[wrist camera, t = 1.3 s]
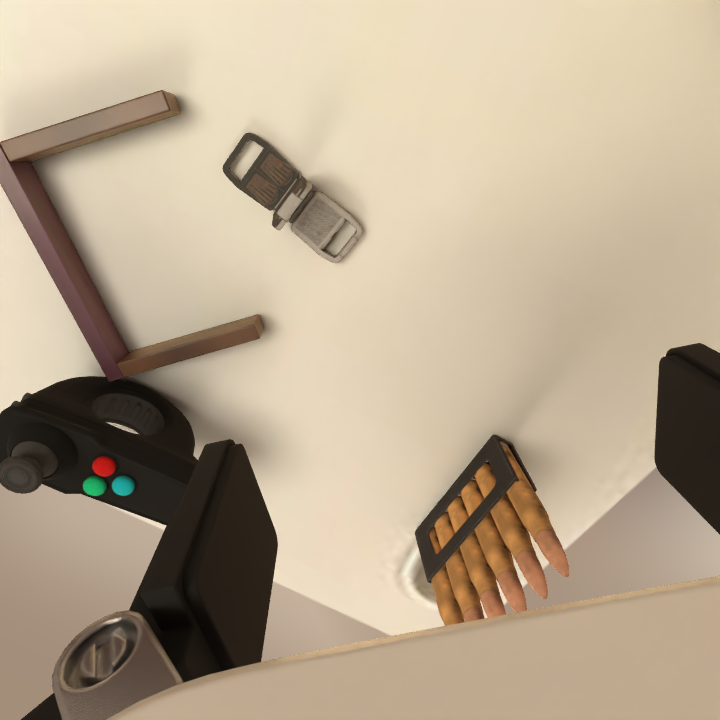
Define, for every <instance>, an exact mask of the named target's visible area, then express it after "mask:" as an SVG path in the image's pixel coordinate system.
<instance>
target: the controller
mask: <svg viewBox="0 0 720 720" xmlns="http://www.w3.org/2000/svg"><path fill="white" fill-rule="evenodd" d="M106 422H111V423H117V424H120V425H123V426H126V427H128V428H131V429H133V430H134V431H136V432H137V433H139V434H140V435H138V434H134V433H130V432H127V431H124V430H122V429H119V428H117V427H114V426H112V425H110V424H108V423H106ZM194 447H195V438H194V434H193V431H192V428H191V425H190V423H189V422H188V420H187V419H186V418H185V416H184V415H183V414H182V412H181V411H180V410H178V409H177V408H176V407H175V406H174V405H173V404H172V403H171V402H170V401H168V400H167V399H165V398H164V397H162V396H161V395H160V394H158V393H156V392H154V391H152V390H150V389H148V388H146V387H144V386H142V385H139V384H136V383H133V382H130V381H126V380H121V379H117V380H114V381H110V382H109V381H108V379H107V377H97V376H89V377H76V378H71V379H67V380H64V381H60V382H57V383H55V384H53V385H51V386H49V387H47V388H44V389H42V390H40V391H38V392H36V393H34V394H30V393H26V394H25V395H24V396H23V398H22V400H21V402H18V401H14V402H13V403H12V405H11V406H10V407H8V408H6V409H5V410H3V411H2V412H1V414H0V483H1V484H2V485H3V486H4V487H5V488H6V489H8V490H10V491H13V492H15V493H22V494H23V493H30V492H33V491H35V490H36V489H37V488H38V487H39V486H40V485H41V484H44V485H46V486H48V487H51V488H53V489H55V490H58V491H60V492H63V493H65V494H83V495H85V496H88V497H91V498H93V499H96V500H99V501H102V502H104V503H107V504H110V505H112V506H115V507H118V508H121V509H123V510H126V511H129V512H131V513H134V514H137V515H140V516H142V517H145V518H148V519H151V520H153V521H156V522H159V523H161V524H164V525H167V524H168V522H169V519H170V517H171V515H172V514H173V512H174V511H175V510H177V508H178V506H179V503H180V501H181V499H182V496H183V494H184V492H185V490H186V487H187V485H188V483H189V480H190V478H191V476H192V474H193V471H194V469H195V467H196V464H197V462H198V460H197V459H196V458H195V457H194V456H193V454H194Z"/></svg>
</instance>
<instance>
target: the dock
mask: <svg viewBox="0 0 720 720" xmlns="http://www.w3.org/2000/svg"><path fill="white" fill-rule="evenodd" d="M180 113H181V111H180V109H179V106H178V104H177V101H176V98H175V96H174V94H171V93H169V92H166V91H163V90H160V91H157V92H154V93H151V94H148V95H145V96H141V97H138V98H135V99H132V100H129V101H126V102H123V103H120V104H117V105H113V106H110V107H107V108H104V109H101V110H98V111H95V112H92V113H89V114H85V115H82V116H79V117H76V118H73V119H70V120H67V121H64V122H61V123H57V124H54V125H51V126H48V127H45V128H42V129H39V130H36V131H33V132H29V133H26V134H23V135H20V136H17V137H14V138H11V139H8V140H5V141H1V142H0V184H1V186H2V187H3V189H4V191H5V193H6V195H7V197H8V198H9V200H10V202H11V204H12V206H13V208H14V209H15V211H16V213H17V215H18V217H19V218H20V220H21V222H22V224H23V226H24V228H25V229H26V231H27V233H28V235H29V237H30V239H31V240H32V242H33V244H34V246H35V248H36V249H37V251H38V253H39V255H40V257H41V259H42V260H43V262H44V264H45V266H46V268H47V270H48V271H49V273H50V275H51V277H52V279H53V280H54V282H55V284H56V286H57V288H58V290H59V291H60V293H61V295H62V297H63V299H64V301H65V302H66V304H67V306H68V308H69V310H70V311H71V313H72V315H73V317H74V319H75V321H76V322H77V324H78V326H79V328H80V330H81V331H82V333H83V335H84V337H85V339H86V341H87V342H88V344H89V346H90V348H91V350H92V352H93V353H94V355H95V357H96V359H97V361H98V362H99V364H100V366H101V368H102V370H103V372H104V373H105V375H106V377H107V379H108V381H109V382H110V381H114V380H117V379H121V378H124V377H127V376H131V375H134V374H138V373H141V372H145V371H148V370H152V369H155V368H159V367H162V366H165V365H169V364H172V363H176V362H179V361H183V360H186V359H190V358H193V357H197V356H200V355H204V354H207V353H211V352H214V351H218V350H221V349H225V348H228V347H232V346H235V345H239V344H242V343H246V342H249V341H253V340H256V339H259V338H260V336H261V334H262V331H263V328H264V327H263V324H262V322H261V319H260V317H259V315H254V316H251V317H248V318H244V319H241V320H237V321H234V322H230V323H227V324H223V325H220V326H217V327H213V328H210V329H206V330H203V331H199V332H196V333H192V334H189V335H186V336H182V337H179V338H175V339H172V340H168V341H165V342H161V343H158V344H154V345H151V346H148V347H144V348H141V349H137V350H134V351H130V352H128V350H127V348H126V346H125V344H124V343H123V341H122V339H121V337H120V335H119V333H118V331H117V329H116V327H115V325H114V323H113V321H112V319H111V317H110V315H109V313H108V312H107V310H106V308H105V306H104V304H103V302H102V300H101V298H100V296H99V294H98V292H97V290H96V288H95V286H94V284H93V282H92V281H91V279H90V277H89V275H88V273H87V271H86V269H85V267H84V265H83V263H82V261H81V259H80V257H79V255H78V253H77V251H76V250H75V248H74V246H73V244H72V242H71V240H70V238H69V236H68V234H67V232H66V230H65V228H64V226H63V224H62V222H61V220H60V219H59V217H58V215H57V213H56V211H55V209H54V207H53V205H52V203H51V201H50V199H49V197H48V195H47V193H46V191H45V189H44V187H43V186H42V184H41V182H40V180H39V178H38V176H37V174H36V172H35V170H34V168H33V166H32V164H31V162H30V161H34V160H37V159H40V158H43V157H46V156H49V155H52V154H56V153H59V152H62V151H65V150H68V149H71V148H74V147H78V146H81V145H84V144H87V143H90V142H93V141H97V140H100V139H103V138H106V137H109V136H112V135H115V134H119V133H122V132H125V131H128V130H131V129H134V128H137V127H141V126H144V125H147V124H150V123H153V122H156V121H159V120H163V119H166V118H169V117H172V116H175V115H178V114H180Z"/></svg>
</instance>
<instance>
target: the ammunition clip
mask: <svg viewBox="0 0 720 720" xmlns="http://www.w3.org/2000/svg"><path fill="white" fill-rule="evenodd" d="M536 490H537V489H536V487H535V485H534V483H533V481H532V479H531V478H530V476H529V474H528V472H527V470H526V468H525V466H524V465H523V463H522V461H521V459H520V457H519V455H518V453H517V452H516V450H515V448H514V446H513V444H511V443H509V442H507V441H505V440H504V439H502V438H500V437H498V436H496V435H492V437H491V438H490V439H489V440H488V442H487V443H486V444H485V445H484V447H483V448H482V449H481V450H480V452H479V453H478V454H477V455H476V457H475V458H474V459H473V460H472V461H471V463H470V464H469V465H468V466H467V468H466V469H465V470H464V471H463V473H462V474H461V475H460V476H459V478H458V479H457V480H456V481H455V483H454V484H453V485H452V486H451V488H450V489H449V490H448V491H447V493H446V494H445V495H444V496H443V498H442V499H441V500H440V501H439V502H438V504H437V505H436V506H435V507H434V509H433V510H432V511H431V512H430V514H429V515H428V516H427V517H426V519H425V520H424V521H423V522H422V524H421V525H420V526H419V527H418V529H417V530H416V531H415V536H416V540H417V544H418V547H419V551H420V555H421V559H422V563H423V566H424V570H425V574H426V578H427V581H428V582H429V583H432V584H433V589H434V593H435V597H436V601H437V605H438V609H439V613H440V616H441V618H442V620H443V622H444V624H445V626H447V625H453V624H458V623H463V622H469V621H474V620H479V619H485V618H484V615H483V610H482V607H481V603H480V599H481V602H482V604H483V607H484V610H485V612H486V614H487V616H488V618H490V617H496V616H501V615H506V613H505V609H504V605H503V602H502V599H501V596H500V592H499V589H498V586H497V583H496V579H497V581H498V582H499V584H500V587H501V589H502V591H503V593H504V595H505V597H506V599H507V601H508V602H509V604H510V606H511V607H512V608H513V610H514V611H515V612H516V613H517V612H523V611H527V606H526V600H525V595H524V592H523V589H522V585H521V583H520V581H519V578H518V576H517V572H516V569H515V567H514V564H513V558H512V555H513V556H514V558H515V560H516V562H517V563H518V565H519V568H520V570H521V571H522V573H523V575H524V577H525V578H526V580H527V581H528V583H529V584H530V586H531V587H532V588H533V589H534V590H535V592H536V593H537V594H538V595H539V596H541V597H542V598H543V599H546V598H547V584H546V580H545V575H544V572H543V570H542V567H541V564H540V562H539V560H538V558H537V556H536V553H535V551H534V548H533V546H532V543H531V539H530V535H529V533H528V531H529V532H530V533H531V535H532V537H533V538H534V540H535V542H536V543H537V544H538V546H539V548H540V550H541V551H542V553H543V554H544V556H545V557H546V559H547V560H548V561H549V563H550V564H551V565H552V566H553V567H554V568H555V569H556V570H557V571H558V572H559V573H560V574H562V575H563V576H565V577H568V576H569V566H568V562H567V558H566V555H565V552H564V550H563V548H562V545H561V543H560V541H559V539H558V538H557V536H556V533H555V531H554V529H553V527H552V525H551V523H550V520H549V517H548V514H547V512H546V510H545V508H544V507H543V505H542V503H541V501H540V500H539V498H538V496H537V495H536V493H535V492H536ZM527 530H528V531H527ZM511 553H512V554H511ZM431 580H432V582H431ZM464 619H465V621H464Z"/></svg>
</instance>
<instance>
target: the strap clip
mask: <svg viewBox="0 0 720 720" xmlns="http://www.w3.org/2000/svg"><path fill="white" fill-rule="evenodd" d="M249 140H253V141H255V142H256V143H258V144H259V145H261V146H262V147H263V148H264V149H263V150H262V152H261V153H260V155H259V156H258V158H257V159H256V160H255V162H254V163H253V165H252V166H251V167H250V169H249V170H248V172H247V173H246V175H245V176H244V177H243V179H242V180H241V181H240V180H239V179H238V178H237V177H236V176H235V175H234V174H233V173H232V172H231V170H230V168H231V166H232V164H233V163H234V161H235V160H236V158H237V157H238V155H239V154H240V152H241V151H242V149H243V148H244V147H245V145H246V144H247V142H248V141H249ZM223 172H224V173H225V175H226V176H227V177H228V178H229V179H230V181H231V182H232V183H233V184H234V185H235V186H236V187H237V188H239V189H240V190H242V191H243V192H244V193H246V194H247V195H248V196H250V197H251V198H253V199H254V200H255V201H257V202H258V203H260V204H261V205H262V206H264V207H265V208H267V209H268V210H273V209H274V208H275V212H274V214H273V222H272V226H273V227H274V228H276V229H277V230H281V228H282V227H283V226H284V225H285V223H286V222H287V221H288V219H289V218H290V217H291V215H292V214H293V213H294V211H295V210H296V209H297V207H298V206H299V205H300V203H301V202H302V201H303V199H304V198H305V197H306V195H307V194H308V193H309V191H310V190H311V189H312V184H311V183H310V182H308V181H307V180H306V179H305V178H304V177H303V176H301V177H300V178H297V177H298V175H299V173H298V171H297V170H296V169H295V168H294V167H293V166H292V165H291V164H290V163H289V162H288V161H287V160H286V159H285V158H284V157H282V156H281V155H280V154H279V153H278V152H277V151H276V150H275V149H274V148H273V147H272V146H271V145H270V144H269V143H268V142H266V141H264V140H263V139H261V138H260V137H258V136H257V135H255V134H252V133H246V134H245V135H244V136H243V137H242V139H241V140H240V142H239V143H238V145H237V146H236V148H235V149H234V151H233V152H232V154H231V155H230V156H229V158H228V159H227V161H226V162H225V163H224V165H223ZM346 220H348V221H349V222H350V223H351V225H352V226H353V227H354V228H355V229H356V232H355V233H354V235H353V236H352V237H351V238H350V240H349V241H348V242H347V243H346V244H345V246H344V247H343V248H342V249H341V251H340V252H339V253H338V254H337V255H332V254H331V253H329V252H328V251H326V250H325V249H324V248H325V247H326V245H327V244H328V243H329V242H330V240H331V239H332V238H333V237H334V235H335V234H336V233H337V232H338V230H339V229H340V228H341V227H342V225H343V224H344V223H345V222H346ZM289 222H290V223H292V225H291V230H292V231H293V232H294V233H295V234H296V235H297V236H298V237H300V238H301V239H302V240H303V241H304V242H305V243H306V244H307V245H308V246H309V247H311V248H312V249H313V250H314V251H315V252H316V253H317V254H318V255H320V256H321V257H323V258H325V259H327V260H329V261H330V262H333V263H338V262H339V261H341V259H342V258H343V257H344V256H345V255H346V254H347V252H348V251H349V250H350V249H351V248H352V246H353V245H354V244H355V243H356V241H357V240H358V239H359V237H360V236H361V235H362V228H361V226H360V224H359V223H358V222H357V221H356V220H355V219H354V217H353V216H352V215H351V214H350V213H349V212H347V211H346V210H345V209H343V208H342V207H341V206H340V205H338V204H337V203H336V202H334V201H333V200H332V199H330V198H329V197H328V196H326V195H325V194H324V193H322V192H321V191H317V192H316V193H314V191H311V192H310V193H309V195H308V196H307V197H306V199H305V200H304V201H303V203H302V204H301V205H300V207H299V208H298V209H297V211H296V212H295V213H294V215H293V216H292V217H291V219H290V220H289Z"/></svg>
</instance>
